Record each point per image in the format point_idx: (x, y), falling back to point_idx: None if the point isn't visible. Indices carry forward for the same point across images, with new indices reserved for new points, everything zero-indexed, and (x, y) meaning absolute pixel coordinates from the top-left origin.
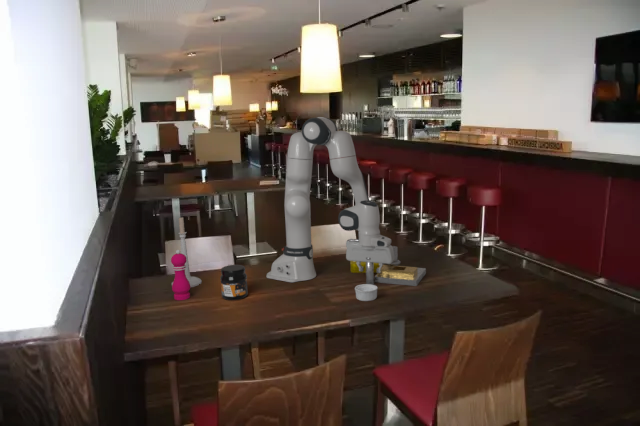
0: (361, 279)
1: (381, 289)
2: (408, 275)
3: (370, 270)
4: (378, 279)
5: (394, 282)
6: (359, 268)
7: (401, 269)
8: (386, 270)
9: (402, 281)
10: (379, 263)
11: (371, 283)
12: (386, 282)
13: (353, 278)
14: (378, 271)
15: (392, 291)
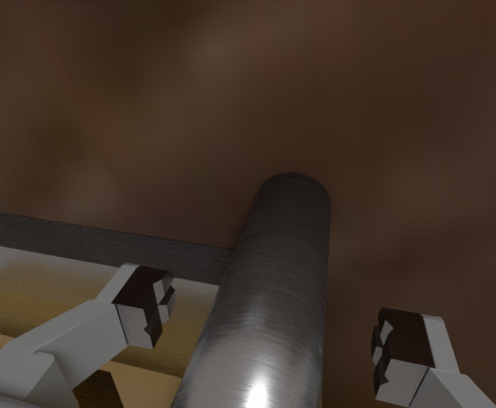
0: (400, 305)
1: (131, 69)
2: (3, 302)
3: (238, 291)
4: (223, 267)
5: (98, 237)
6: (447, 356)
7: (99, 390)
8: (153, 363)
9: (30, 236)
10: (19, 388)
11: (266, 185)
12: (162, 242)
13: (486, 325)
14: (132, 277)
15: (13, 35)
